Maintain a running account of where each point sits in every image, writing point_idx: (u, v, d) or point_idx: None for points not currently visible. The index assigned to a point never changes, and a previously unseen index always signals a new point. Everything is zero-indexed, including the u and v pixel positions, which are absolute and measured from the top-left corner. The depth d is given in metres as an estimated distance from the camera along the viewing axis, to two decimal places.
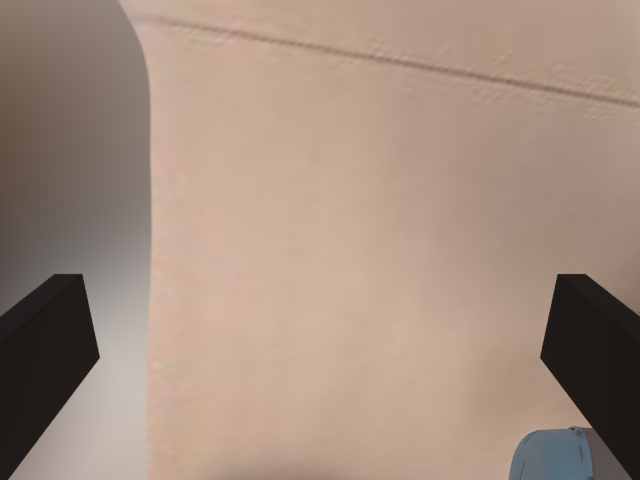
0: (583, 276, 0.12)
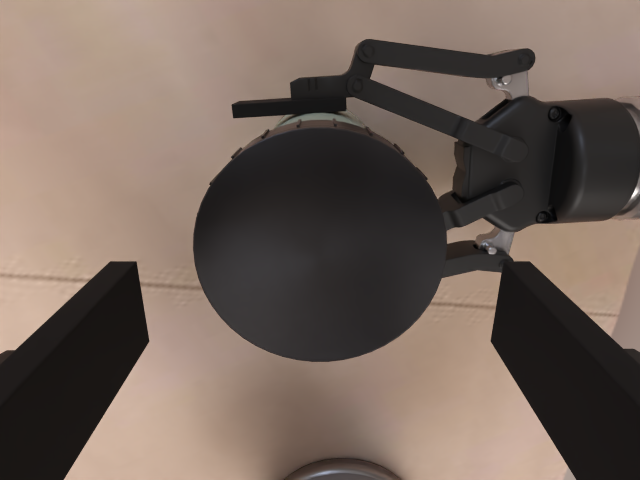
0: (528, 263, 0.13)
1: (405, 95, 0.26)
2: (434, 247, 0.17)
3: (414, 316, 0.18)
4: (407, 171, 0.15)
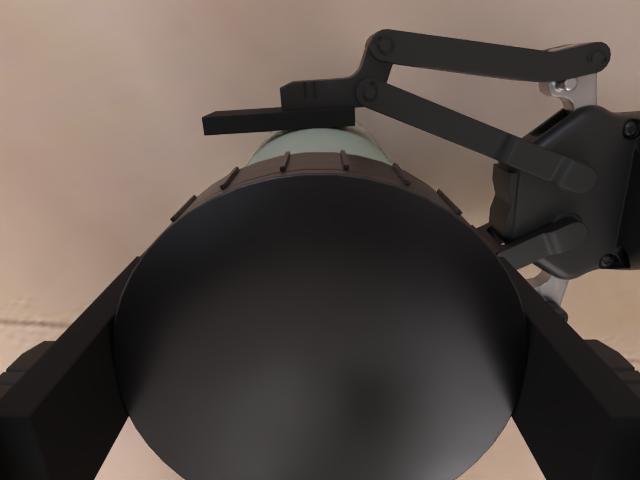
0: (502, 258, 0.13)
1: (434, 105, 0.19)
2: (507, 362, 0.10)
3: (468, 460, 0.11)
4: (469, 246, 0.09)
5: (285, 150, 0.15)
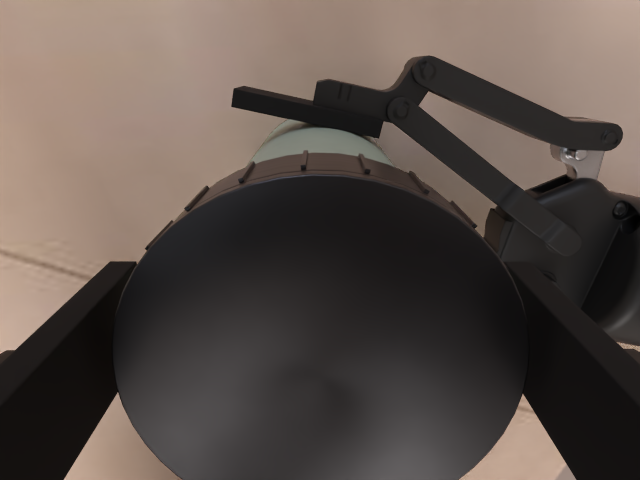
0: (528, 263, 0.13)
1: (456, 139, 0.20)
2: (365, 202, 0.09)
3: (492, 265, 0.09)
4: (208, 218, 0.09)
5: (317, 144, 0.15)
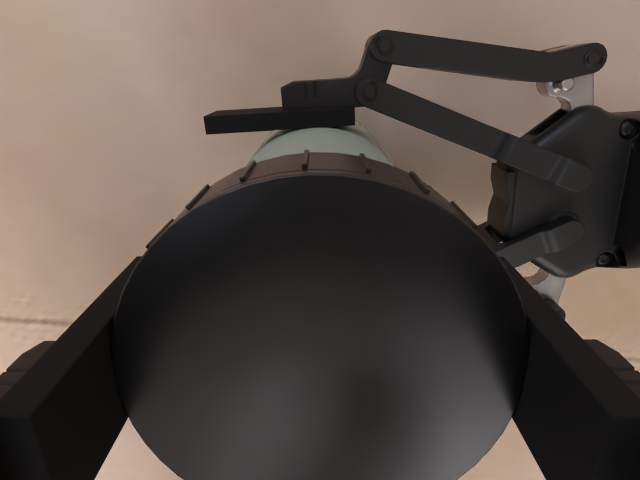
0: (502, 258, 0.13)
1: (433, 104, 0.19)
2: (307, 197, 0.09)
3: (454, 226, 0.09)
4: (165, 251, 0.09)
5: (286, 149, 0.15)
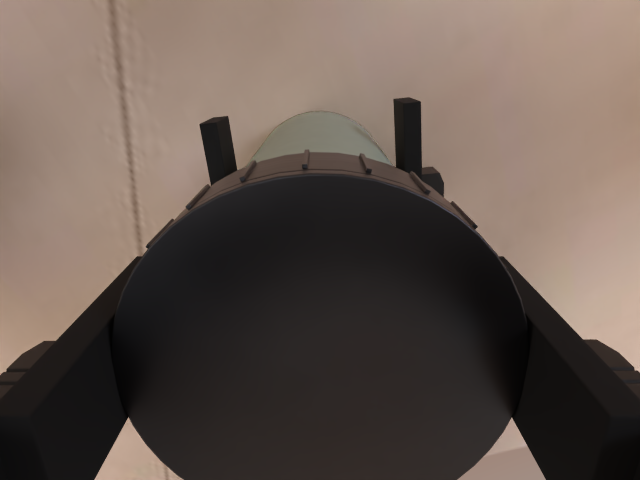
0: (502, 258, 0.13)
1: None
2: (307, 197, 0.09)
3: (454, 226, 0.09)
4: (165, 251, 0.09)
5: None
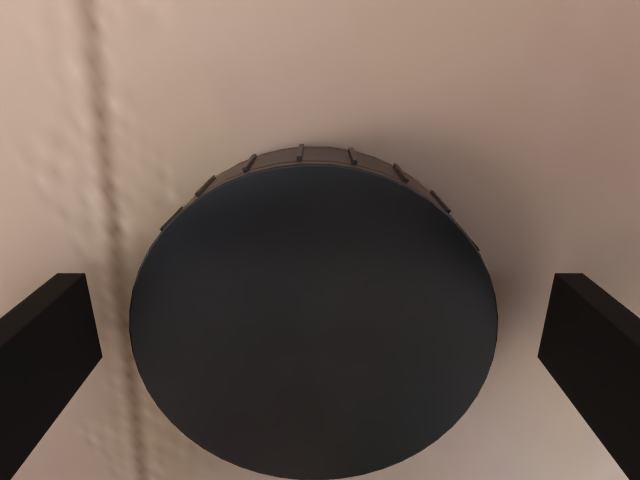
0: (581, 275, 0.12)
1: None
2: (301, 184, 0.10)
3: (429, 210, 0.10)
4: (178, 232, 0.10)
5: None
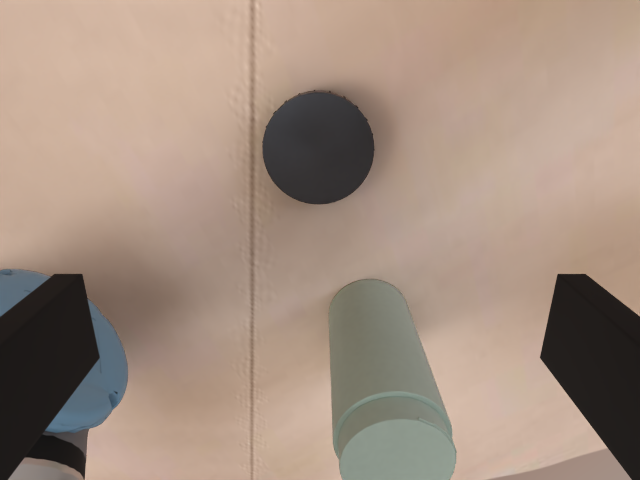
0: (584, 276, 0.12)
1: None
2: (315, 98, 0.36)
3: (350, 105, 0.37)
4: (280, 112, 0.37)
5: None
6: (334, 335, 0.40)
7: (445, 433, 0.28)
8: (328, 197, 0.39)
